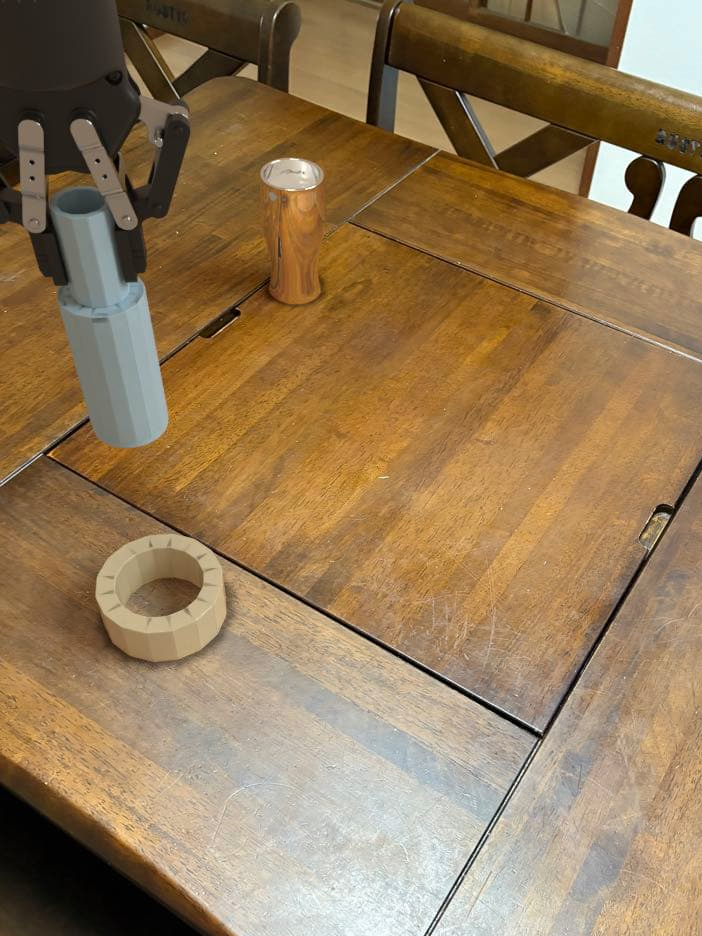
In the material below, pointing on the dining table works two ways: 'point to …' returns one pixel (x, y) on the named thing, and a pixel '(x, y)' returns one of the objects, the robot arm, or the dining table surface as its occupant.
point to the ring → (148, 564)
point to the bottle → (107, 324)
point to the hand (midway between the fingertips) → (96, 275)
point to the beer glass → (293, 226)
